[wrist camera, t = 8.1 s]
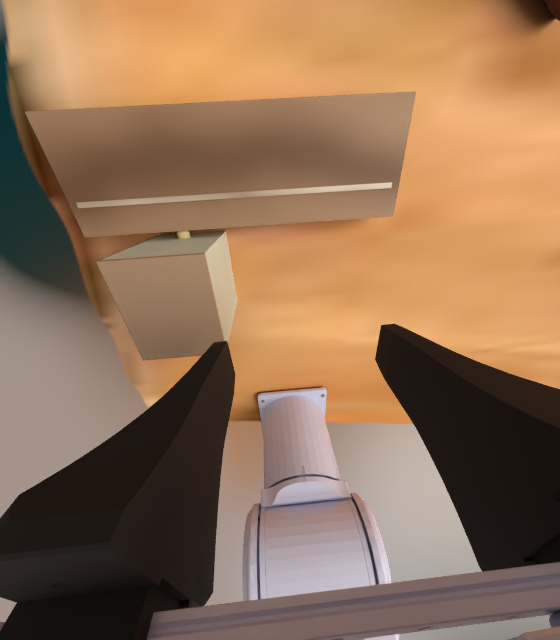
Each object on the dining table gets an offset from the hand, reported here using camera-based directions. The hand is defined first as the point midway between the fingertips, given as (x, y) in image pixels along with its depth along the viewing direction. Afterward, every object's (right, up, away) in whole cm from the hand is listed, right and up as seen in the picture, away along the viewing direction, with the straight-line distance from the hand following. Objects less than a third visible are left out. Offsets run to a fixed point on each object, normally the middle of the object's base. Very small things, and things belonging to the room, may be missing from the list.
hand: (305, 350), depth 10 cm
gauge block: (-8, +5, +8) cm, 12 cm away
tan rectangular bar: (-4, +11, +5) cm, 13 cm away
